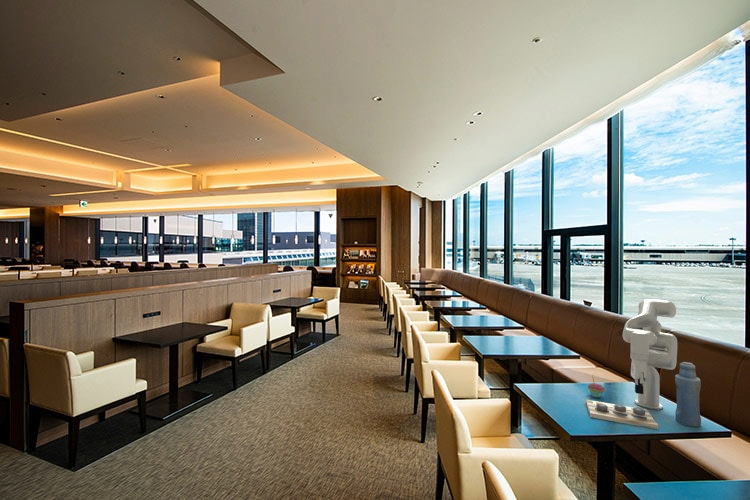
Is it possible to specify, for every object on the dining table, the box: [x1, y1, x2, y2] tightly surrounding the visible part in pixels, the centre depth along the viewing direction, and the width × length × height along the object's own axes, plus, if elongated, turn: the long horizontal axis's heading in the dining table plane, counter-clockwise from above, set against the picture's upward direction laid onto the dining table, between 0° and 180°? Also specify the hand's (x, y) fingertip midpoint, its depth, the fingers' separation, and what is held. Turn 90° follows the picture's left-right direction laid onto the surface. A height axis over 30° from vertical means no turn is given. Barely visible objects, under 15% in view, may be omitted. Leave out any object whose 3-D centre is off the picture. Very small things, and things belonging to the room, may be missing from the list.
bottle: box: [674, 361, 702, 428], centre depth 180 cm, size 10×10×30 cm
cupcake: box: [587, 374, 606, 398], centre depth 213 cm, size 9×8×12 cm
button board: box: [585, 399, 659, 430], centre depth 187 cm, size 20×28×2 cm
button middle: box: [614, 404, 626, 412], centre depth 184 cm, size 5×5×2 cm
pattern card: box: [592, 400, 633, 411], centre depth 192 cm, size 5×22×1 cm, turn 65°
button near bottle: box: [633, 407, 645, 416], centre depth 181 cm, size 5×5×2 cm
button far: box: [596, 404, 608, 411], centre depth 187 cm, size 5×5×2 cm
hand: (639, 393), depth 181 cm, fingers closed
